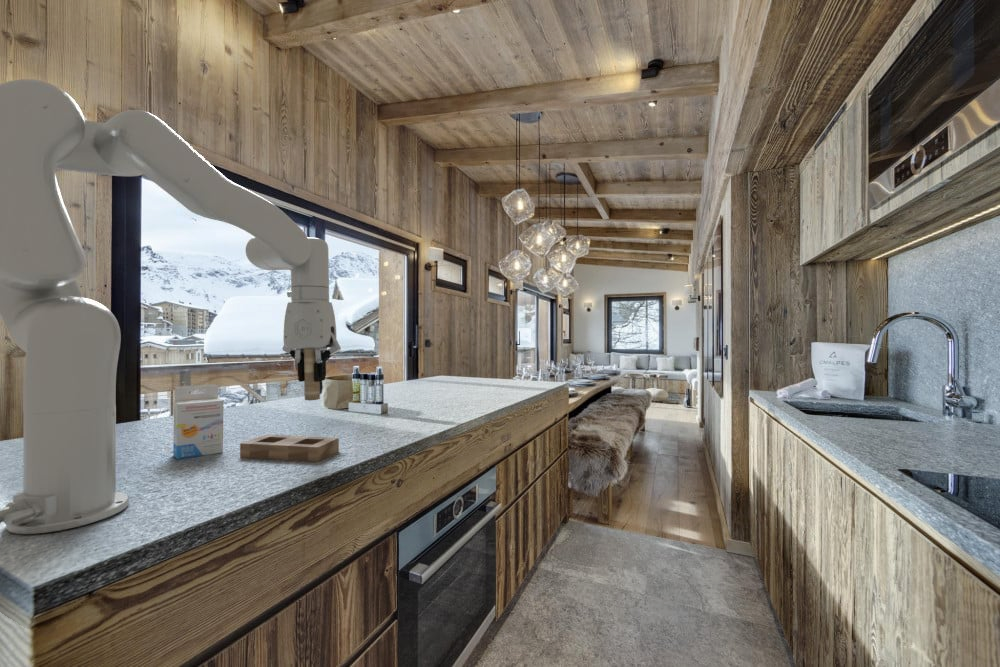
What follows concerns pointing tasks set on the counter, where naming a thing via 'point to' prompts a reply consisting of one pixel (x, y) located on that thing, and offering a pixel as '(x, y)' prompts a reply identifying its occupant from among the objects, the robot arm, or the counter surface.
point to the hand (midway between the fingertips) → (311, 380)
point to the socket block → (289, 448)
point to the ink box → (197, 422)
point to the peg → (310, 376)
